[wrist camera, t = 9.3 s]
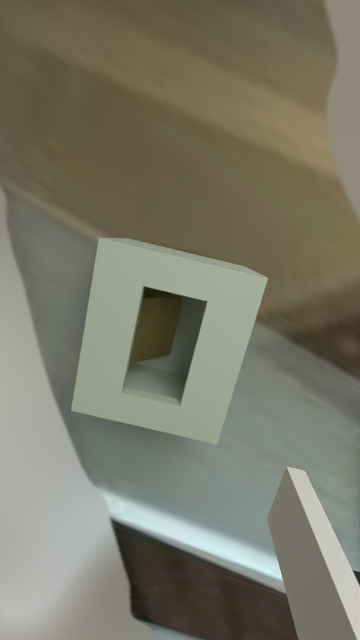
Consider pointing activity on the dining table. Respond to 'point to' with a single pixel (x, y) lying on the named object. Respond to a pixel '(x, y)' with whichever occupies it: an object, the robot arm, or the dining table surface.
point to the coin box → (188, 345)
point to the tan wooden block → (155, 325)
